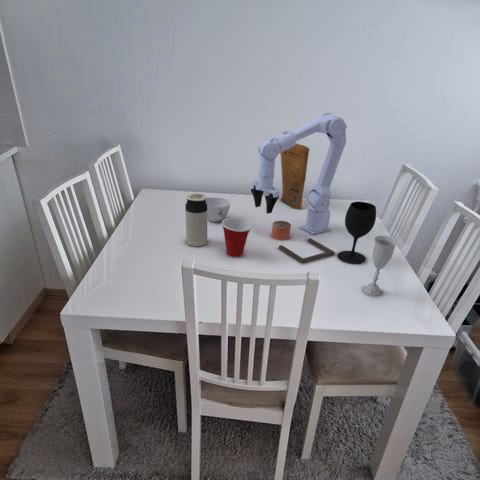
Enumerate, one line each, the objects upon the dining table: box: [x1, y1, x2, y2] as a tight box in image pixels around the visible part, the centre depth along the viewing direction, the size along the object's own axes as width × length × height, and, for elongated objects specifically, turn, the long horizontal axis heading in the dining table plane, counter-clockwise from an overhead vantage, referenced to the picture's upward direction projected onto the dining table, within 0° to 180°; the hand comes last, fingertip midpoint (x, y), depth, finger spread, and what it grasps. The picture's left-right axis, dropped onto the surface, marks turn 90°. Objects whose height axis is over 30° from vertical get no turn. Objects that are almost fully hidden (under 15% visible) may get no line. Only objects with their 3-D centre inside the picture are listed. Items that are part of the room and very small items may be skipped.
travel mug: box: [185, 192, 208, 247], centre depth 155 cm, size 8×8×18 cm
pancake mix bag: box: [279, 143, 311, 210], centre depth 193 cm, size 7×19×28 cm, turn 30°
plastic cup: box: [221, 217, 253, 258], centre depth 151 cm, size 11×11×12 cm
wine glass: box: [337, 201, 377, 265], centre depth 150 cm, size 10×10×20 cm
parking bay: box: [278, 237, 336, 265], centre depth 158 cm, size 16×14×1 cm
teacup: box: [206, 196, 231, 223], centre depth 178 cm, size 15×12×8 cm
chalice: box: [363, 235, 399, 296], centre depth 131 cm, size 7×7×18 cm
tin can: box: [270, 220, 292, 241], centre depth 168 cm, size 8×8×5 cm
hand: (263, 209), depth 166 cm, fingers open, 7 cm apart
